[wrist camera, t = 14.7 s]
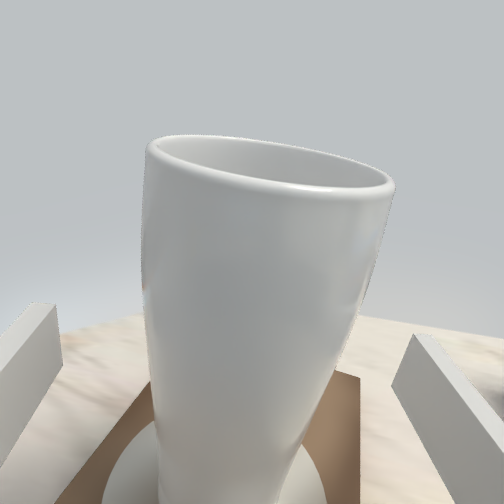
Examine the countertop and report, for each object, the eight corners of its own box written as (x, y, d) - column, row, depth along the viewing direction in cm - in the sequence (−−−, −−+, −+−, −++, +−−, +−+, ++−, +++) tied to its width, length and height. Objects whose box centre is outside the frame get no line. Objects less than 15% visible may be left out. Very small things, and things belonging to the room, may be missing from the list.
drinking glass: (136, 612, 12) (137, 176, 5) (141, 433, 17) (144, 125, 11) (315, 562, 14) (467, 201, 7) (266, 417, 19) (327, 147, 13)
